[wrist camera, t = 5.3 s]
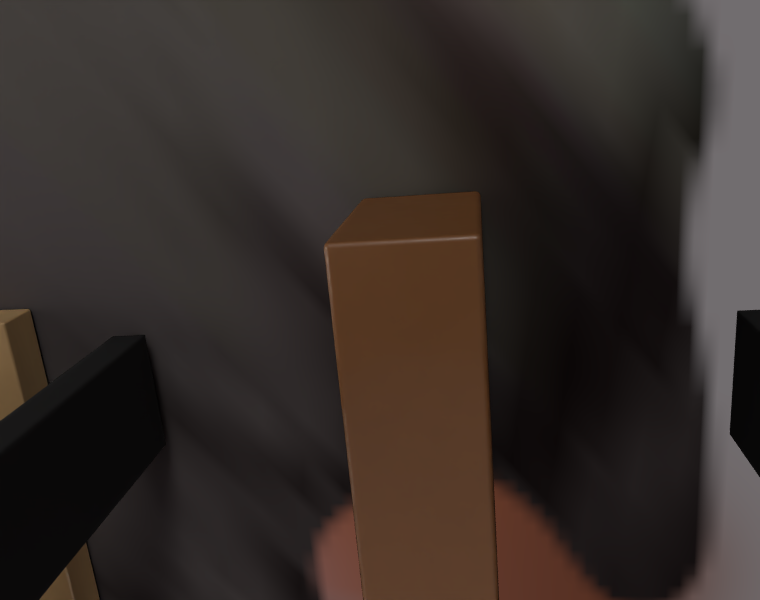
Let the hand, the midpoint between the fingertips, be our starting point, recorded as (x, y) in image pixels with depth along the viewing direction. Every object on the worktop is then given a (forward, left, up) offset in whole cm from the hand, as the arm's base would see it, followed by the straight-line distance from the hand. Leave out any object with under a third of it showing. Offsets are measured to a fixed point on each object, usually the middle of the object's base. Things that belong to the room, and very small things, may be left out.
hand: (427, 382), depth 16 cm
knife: (0, +7, 0) cm, 7 cm away
